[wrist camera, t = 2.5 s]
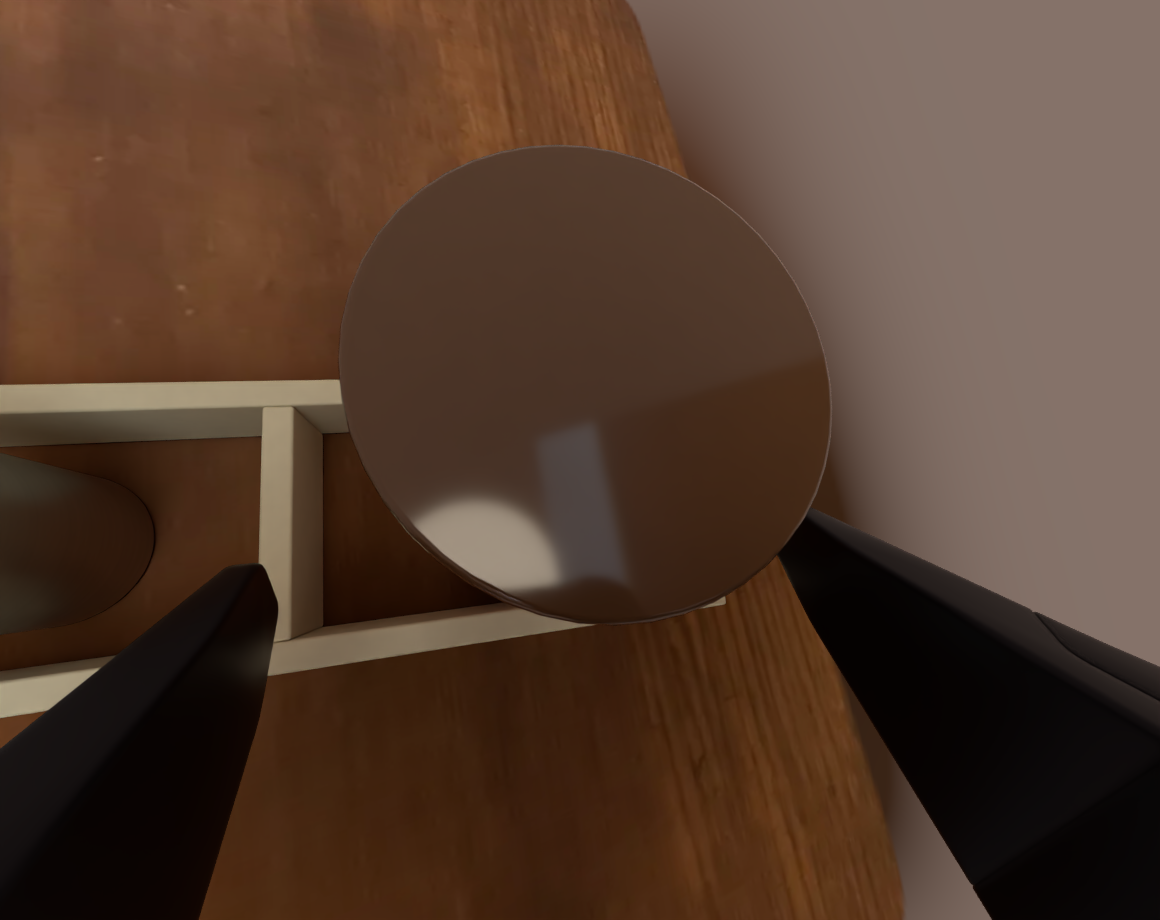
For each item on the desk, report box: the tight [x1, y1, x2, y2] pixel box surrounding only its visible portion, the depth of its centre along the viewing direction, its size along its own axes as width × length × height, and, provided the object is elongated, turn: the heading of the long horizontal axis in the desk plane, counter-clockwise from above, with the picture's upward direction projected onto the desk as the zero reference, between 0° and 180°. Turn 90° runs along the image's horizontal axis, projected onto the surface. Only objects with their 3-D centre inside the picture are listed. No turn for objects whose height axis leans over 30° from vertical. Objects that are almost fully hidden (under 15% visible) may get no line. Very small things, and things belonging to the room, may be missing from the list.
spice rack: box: [0, 380, 726, 718], centre depth 14 cm, size 26×8×3 cm, turn 97°
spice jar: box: [338, 145, 832, 626], centre depth 11 cm, size 5×5×13 cm
